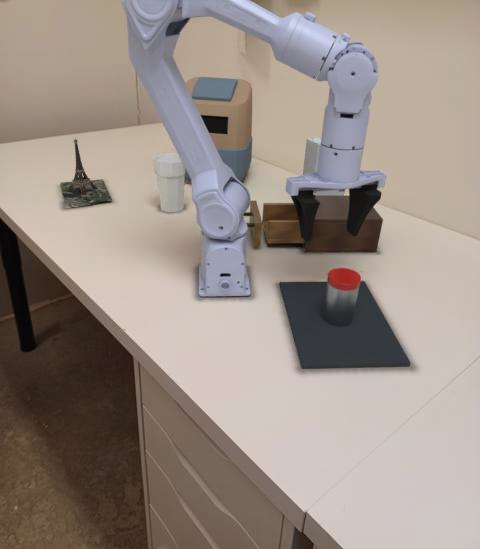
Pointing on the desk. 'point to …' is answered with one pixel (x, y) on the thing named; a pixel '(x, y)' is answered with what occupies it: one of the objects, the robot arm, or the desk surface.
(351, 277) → the tin
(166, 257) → the desk surface
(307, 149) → the cosmetic box
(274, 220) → the drawer
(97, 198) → the eiffel tower figurine
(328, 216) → the cabinet
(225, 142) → the tan and blue canister
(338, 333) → the mat
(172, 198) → the cup
